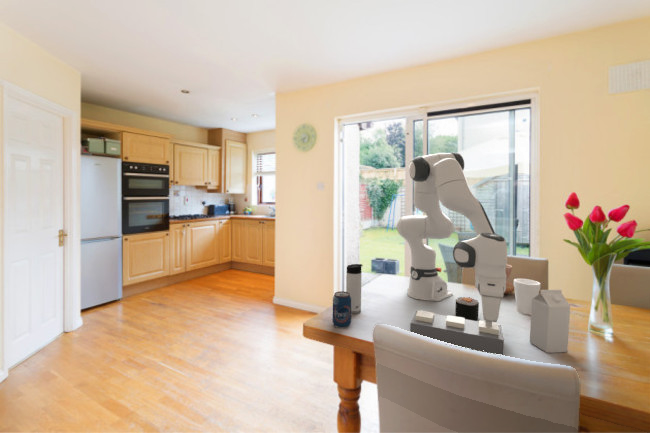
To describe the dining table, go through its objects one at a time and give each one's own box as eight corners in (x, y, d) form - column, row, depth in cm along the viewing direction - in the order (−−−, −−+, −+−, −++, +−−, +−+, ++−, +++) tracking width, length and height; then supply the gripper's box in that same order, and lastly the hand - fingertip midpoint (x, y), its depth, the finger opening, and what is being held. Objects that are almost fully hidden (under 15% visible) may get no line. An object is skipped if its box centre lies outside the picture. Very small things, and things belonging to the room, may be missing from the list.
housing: (409, 336, 106) (410, 322, 106) (415, 323, 117) (416, 311, 117) (503, 355, 94) (504, 340, 94) (500, 339, 105) (500, 325, 104)
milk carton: (529, 342, 103) (532, 286, 101) (549, 341, 103) (552, 286, 102) (546, 353, 96) (549, 293, 94) (567, 352, 96) (571, 293, 95)
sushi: (480, 318, 123) (481, 298, 122) (473, 324, 117) (473, 303, 116) (460, 312, 128) (460, 294, 128) (451, 318, 123) (452, 298, 122)
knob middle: (445, 336, 104) (446, 320, 104) (446, 329, 109) (447, 315, 109) (463, 339, 102) (464, 323, 101) (464, 332, 107) (464, 317, 106)
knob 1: (415, 330, 108) (415, 315, 108) (417, 324, 113) (418, 310, 113) (431, 333, 106) (432, 318, 106) (433, 327, 111) (434, 312, 111)
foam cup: (512, 306, 136) (513, 277, 135) (537, 310, 132) (539, 280, 131) (512, 313, 128) (514, 282, 127) (539, 317, 123) (541, 286, 122)
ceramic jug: (484, 285, 167) (485, 260, 166) (515, 290, 159) (516, 263, 157) (477, 294, 153) (478, 266, 152) (511, 300, 144) (512, 271, 143)
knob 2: (478, 342, 100) (479, 326, 99) (478, 335, 105) (478, 320, 104) (498, 346, 97) (498, 330, 97) (497, 338, 102) (497, 323, 102)
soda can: (334, 329, 112) (334, 297, 111) (331, 321, 118) (331, 291, 118) (353, 328, 113) (353, 296, 112) (348, 320, 119) (348, 290, 119)
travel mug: (361, 314, 126) (361, 266, 124) (345, 313, 127) (345, 265, 125) (362, 309, 132) (363, 263, 130) (347, 307, 133) (347, 262, 132)
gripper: (479, 275, 110) (477, 312, 111) (479, 290, 92) (477, 335, 93) (499, 277, 107) (497, 315, 108) (504, 293, 89) (501, 340, 90)
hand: (488, 325), depth 100 cm, fingers closed, pressing on knob 2
